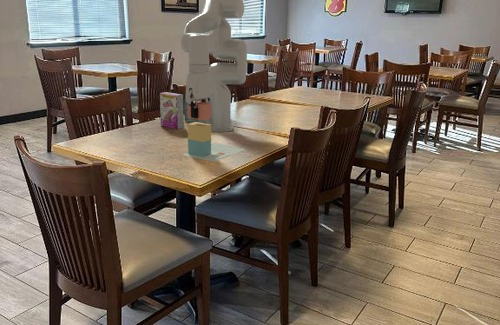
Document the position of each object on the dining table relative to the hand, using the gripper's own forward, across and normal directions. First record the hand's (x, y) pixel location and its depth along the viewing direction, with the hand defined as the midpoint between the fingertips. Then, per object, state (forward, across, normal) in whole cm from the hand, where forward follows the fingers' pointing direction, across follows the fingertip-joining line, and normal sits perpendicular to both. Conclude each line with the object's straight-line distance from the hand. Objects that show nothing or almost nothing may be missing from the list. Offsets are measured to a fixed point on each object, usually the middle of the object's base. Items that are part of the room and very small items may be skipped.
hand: (199, 116), depth 177 cm
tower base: (+15, 0, 0) cm, 15 cm away
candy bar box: (+16, -28, -39) cm, 51 cm away
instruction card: (+15, -3, +7) cm, 17 cm away
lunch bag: (+15, -53, -38) cm, 67 cm away
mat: (+16, -6, +3) cm, 17 cm away
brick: (+1, 0, 0) cm, 1 cm away
